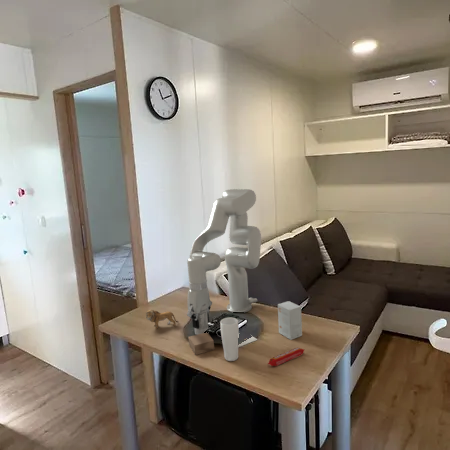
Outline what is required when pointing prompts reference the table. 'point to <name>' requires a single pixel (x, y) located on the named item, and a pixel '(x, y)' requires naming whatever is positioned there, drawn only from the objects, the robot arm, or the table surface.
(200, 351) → the walnut brick
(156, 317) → the lion figurine
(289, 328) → the small box
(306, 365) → the table surface
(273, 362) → the candy bar
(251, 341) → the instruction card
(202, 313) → the energy drink can
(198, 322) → the robot arm
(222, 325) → the drinking glass
